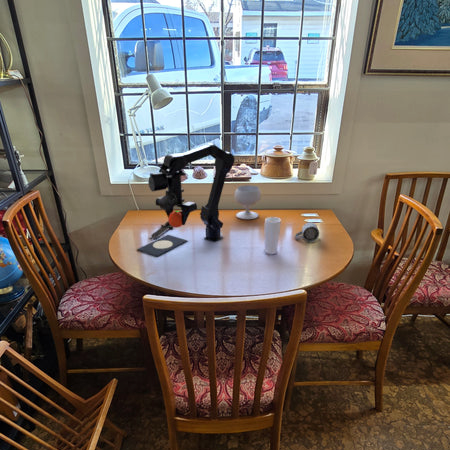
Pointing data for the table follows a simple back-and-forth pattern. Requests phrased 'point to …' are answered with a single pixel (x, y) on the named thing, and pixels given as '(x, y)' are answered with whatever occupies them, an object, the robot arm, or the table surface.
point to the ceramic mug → (308, 232)
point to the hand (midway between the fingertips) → (177, 223)
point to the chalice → (247, 200)
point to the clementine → (175, 219)
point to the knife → (162, 230)
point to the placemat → (162, 245)
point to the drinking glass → (272, 234)
